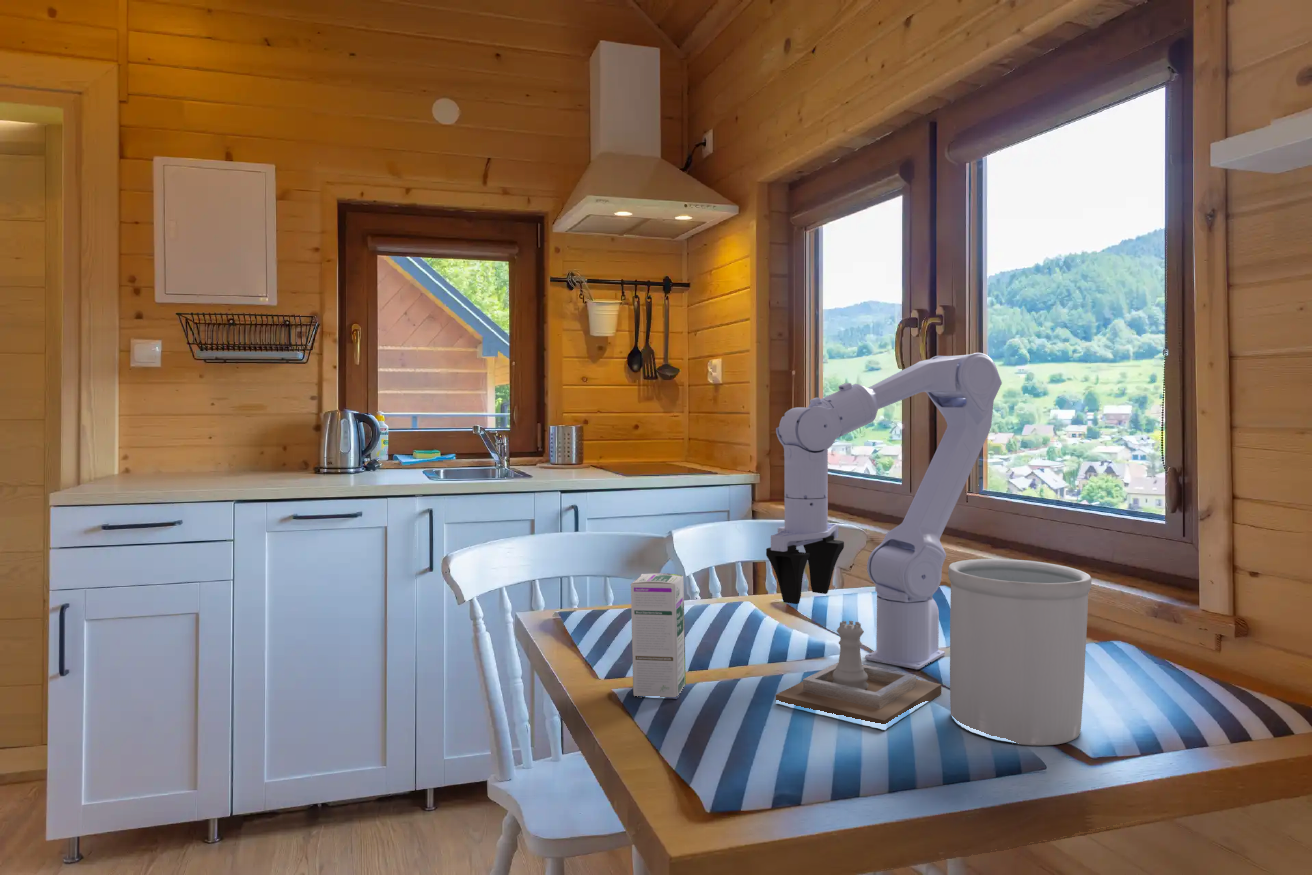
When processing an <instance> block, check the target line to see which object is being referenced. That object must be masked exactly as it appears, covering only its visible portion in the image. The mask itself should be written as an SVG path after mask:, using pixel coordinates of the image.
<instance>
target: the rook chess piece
mask: <svg viewBox="0 0 1312 875" xmlns="http://www.w3.org/2000/svg"><path fill="white" fill-rule="evenodd" d="M861 625H862V623H860V622H859V621H855V622H854V620H848V623H847V621H846V620H842V621H840V622H839V627H838V628H837V629H836V632H837V634H838V635H839V637H840V640H839V641H838V644H839V650H840V651H839V658H838V662H837V663H838V665H837V666H836V670H835V671H834V672H833V675H832V677H833V678H834V679H835V680H833V681H832V683H836V684H840V685H845V686H849V687H854V688H859V689H863V690H866V689H867V687H868V685H869V684H868V683H867V682H866V681H867V680H868V675H867V673H866V672H865V671H864V667H863V665H864V664H863V661H862V656H861V655H862V654H861V646H862V645H863V642H862V641H861V637H862V635H863V634H864V633H865V632H864V630H863V628H862V626H861ZM862 664H863V665H862Z"/></svg>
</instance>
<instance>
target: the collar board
mask: <svg viewBox="0 0 1312 875" xmlns="http://www.w3.org/2000/svg"><path fill="white" fill-rule="evenodd" d="M837 665H838V662H837V663H834V664H832V665H830V666H828V667H826V668H824V669H821V670H819V671H817V672H815V673H813V674H811V675H809V676H807V677H805V678H803V679H802V681H801V682H799V683H797V684H794V685H792V686H791V687H788V688H786V689H784V690H782V691H781V692H778V693H776V694H775V701H776V700H779V701H781V702H785V703H788V704H794V705H796V706H801V707H804V708H809V709H810V708H811V709H813V710H820V711H824V712H827V713H832V714H833V713H834V714H836V715H844V716H846V717H852V718H855V719H861V720H865V721H870V722H875V723H881V724H886V723H888V722H889V721H891V720H892V719H894V718H895V717H898V715H901V714H902V713H904V712H906V711H907V710H909V709H911V708H913V707H914V706H916V705H918V704H920V703H922V702H925V701H929V702H928V703H930V702H931V701H933V700H934V699H936V698H937V697H939V696H941V695H942V683H937V682H933V681H927V680H922V679H918V678H917V674H911V673H907V672H902V671H897V670H892V669H888V668H882V667H878V666H872V665H867V664H863V663H862V665H863V667H864V671H865V672H866V673H867V675H868V680H867V681H866V682H867V683H868V684H869V685H868V687H867V689H866V690H863V689H859V688H854V687H849V686H845V685H840V684H836V683H832V681H833V680H835V679H834V678H833V677H832V675H833V672H834V671H835V670H836V666H837Z"/></svg>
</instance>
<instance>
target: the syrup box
mask: <svg viewBox="0 0 1312 875" xmlns="http://www.w3.org/2000/svg"><path fill="white" fill-rule="evenodd" d="M684 585H685V584H684V576H683V575H682V574H678V573H677V574H676V573H669V572H668V573H666V572H661V573H659V572H655V573H654V572H653V573H641V574H640V576H639V577H638V578H636V579H634V581H633V582H631V584H630V601H631V602H630V605H631V608H630V610H631V611H630V612H631V651H632V653H631V655H632V656H631V657H632V690H633V691H632V692H633V693H632V694H633V696H634V697H635V696H637V697H636V698H639V697H638V696H643V697H644V696H660V697H676V696H678V695H679V693H681V694H682V692H681V691H683V690H682V689H684V688H685V687H686V685H687V683H686V681H687V680H686V678H687V677H686V674H687V673H686V634H685V633H686V632H685V629H686V628H685V626H686V625H685V595H684V594H685V593H684V592H685V591H684V590H685V589H684V588H685V586H684ZM683 687H684V688H683ZM679 696H680V695H679ZM679 696H678V697H679Z"/></svg>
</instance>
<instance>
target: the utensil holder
mask: <svg viewBox="0 0 1312 875" xmlns="http://www.w3.org/2000/svg"><path fill="white" fill-rule="evenodd" d="M947 571H948V572H947V573H948V580H949V582H950V603H949V604H950V615H949V616H950V617H949V653H950V654H949V697H950V698H949V700H950V702H949V703H950V704H949V705H950V706H949V707H950V709H949V710H950V716H951V715H952V716H953V717H954V718H955V719H956V720H957V721H959V722H960V723H962V724H964V725H966V726H969V727H970V728H973V729H976V730H979V731H981V732H984V733H986V734H989V735H991V736H997V737H1000V738H1006V739H1008V740H1011V741H1014V742H1016V743H1019V744H1018V745H1023V746H1054V745H1060V744H1061V745H1062V744H1065V743H1070V742H1072V741H1074V740H1075V739H1077V738H1078V737H1079V736H1080V734H1081V729H1082V721H1083V720H1082V719H1083V717H1082V716H1083V703H1084V702H1083V701H1084V693H1085V692H1084V690H1085V676H1086V674H1085V672H1086V670H1085V669H1086V650H1087V649H1086V647H1087V634H1088V633H1087V632H1088V631H1087V630H1088V629H1087V628H1088V612H1089V611H1088V610H1089V608H1088V605H1089V592H1090V591H1091V589H1092V577H1091V575H1090V574H1089V573H1086V572H1085V571H1082V570H1080V569H1076V568H1073V567H1069V566H1065V565H1060V564H1054V563H1049V562H1042V561H1036V560H1026V559H1025V560H1024V559H1007V558H978V559H976V558H975V559H963V560H958V561H956V562H955V561H953V562H952V563H950V564H949V566H948V569H947Z"/></svg>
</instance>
